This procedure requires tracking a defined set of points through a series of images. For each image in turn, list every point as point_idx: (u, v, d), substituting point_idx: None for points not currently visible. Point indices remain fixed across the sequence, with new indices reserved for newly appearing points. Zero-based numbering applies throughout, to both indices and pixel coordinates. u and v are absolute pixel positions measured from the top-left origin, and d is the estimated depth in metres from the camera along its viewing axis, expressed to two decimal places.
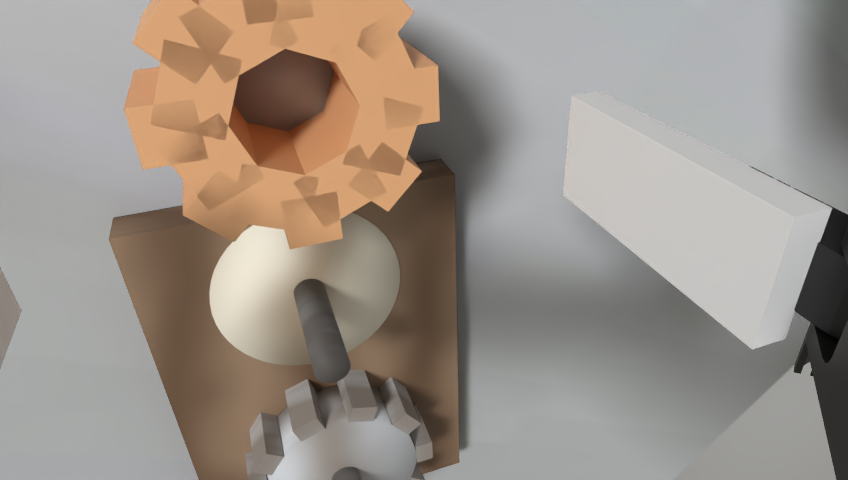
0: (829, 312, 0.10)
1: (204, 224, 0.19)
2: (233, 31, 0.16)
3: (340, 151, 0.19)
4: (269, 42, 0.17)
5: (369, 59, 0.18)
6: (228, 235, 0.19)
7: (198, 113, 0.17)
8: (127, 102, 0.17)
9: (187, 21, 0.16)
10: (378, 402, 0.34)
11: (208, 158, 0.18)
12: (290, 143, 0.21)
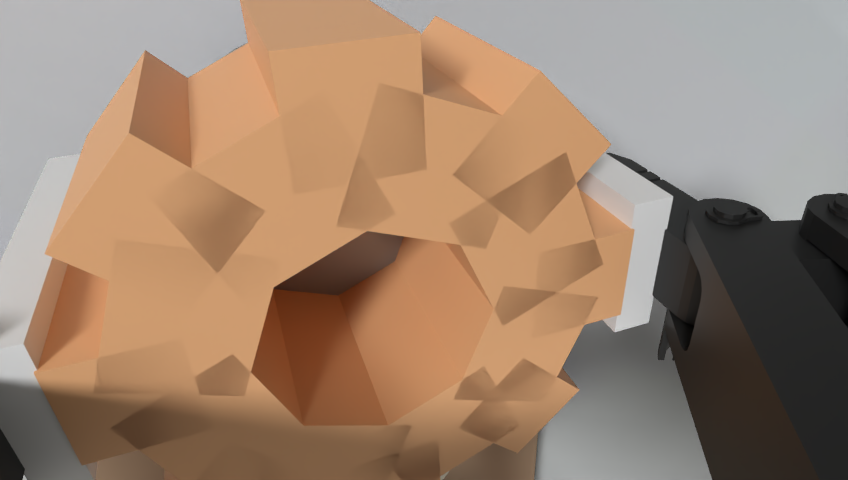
0: (681, 300, 0.10)
1: None
2: (263, 208, 0.08)
3: (449, 377, 0.11)
4: (337, 223, 0.08)
5: (520, 232, 0.09)
6: None
7: (191, 360, 0.08)
8: (44, 346, 0.08)
9: (166, 200, 0.07)
10: None
11: (210, 429, 0.09)
12: (346, 330, 0.12)
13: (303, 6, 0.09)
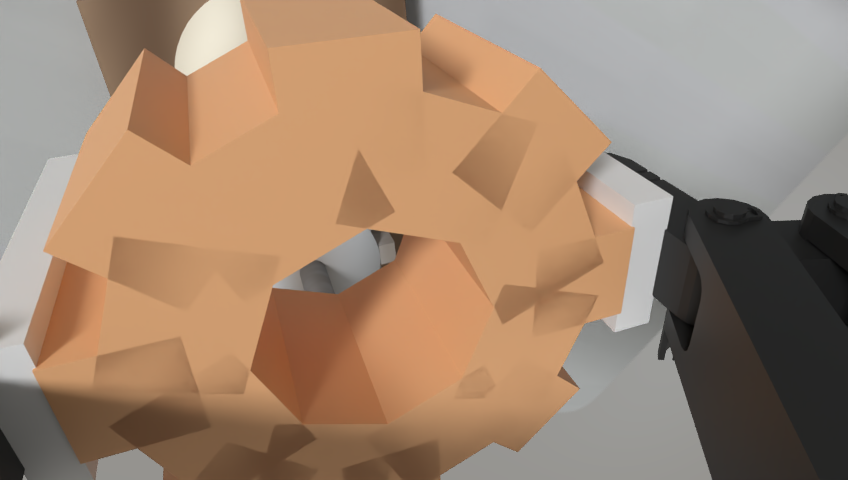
0: (681, 300, 0.10)
1: None
2: (263, 206, 0.08)
3: (449, 376, 0.11)
4: (336, 220, 0.08)
5: (520, 231, 0.09)
6: None
7: (191, 358, 0.08)
8: (43, 345, 0.08)
9: (165, 198, 0.07)
10: None
11: (210, 427, 0.09)
12: (346, 328, 0.12)
13: (303, 3, 0.09)
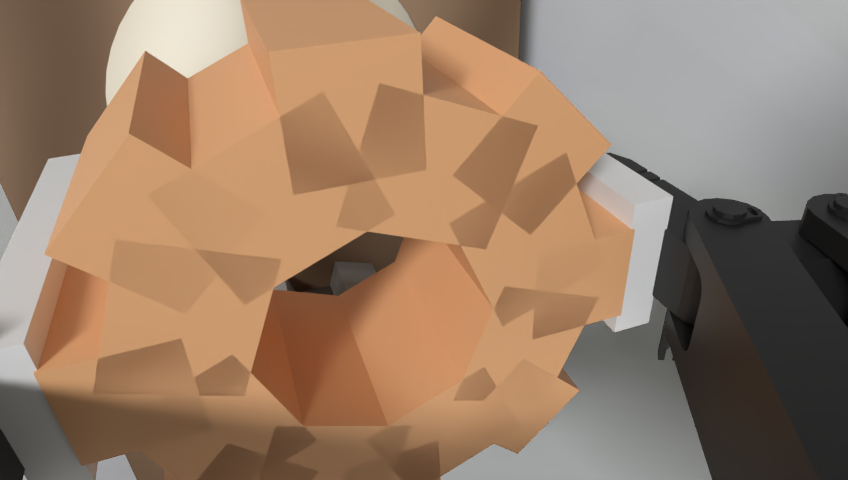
0: (681, 300, 0.10)
1: None
2: (264, 208, 0.08)
3: (449, 377, 0.11)
4: (337, 223, 0.08)
5: (520, 233, 0.09)
6: None
7: (191, 360, 0.08)
8: (45, 347, 0.08)
9: (166, 201, 0.07)
10: None
11: (210, 429, 0.09)
12: (346, 330, 0.12)
13: (303, 6, 0.09)
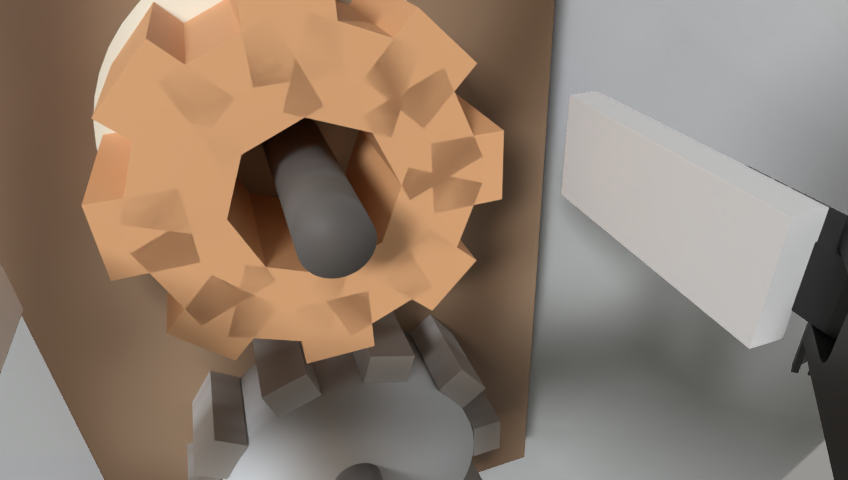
0: (826, 312, 0.10)
1: (195, 342, 0.14)
2: (233, 97, 0.12)
3: None
4: (283, 110, 0.12)
5: (416, 126, 0.13)
6: (227, 353, 0.14)
7: (186, 206, 0.12)
8: (87, 193, 0.12)
9: (169, 86, 0.11)
10: None
11: (200, 262, 0.13)
12: None
13: None
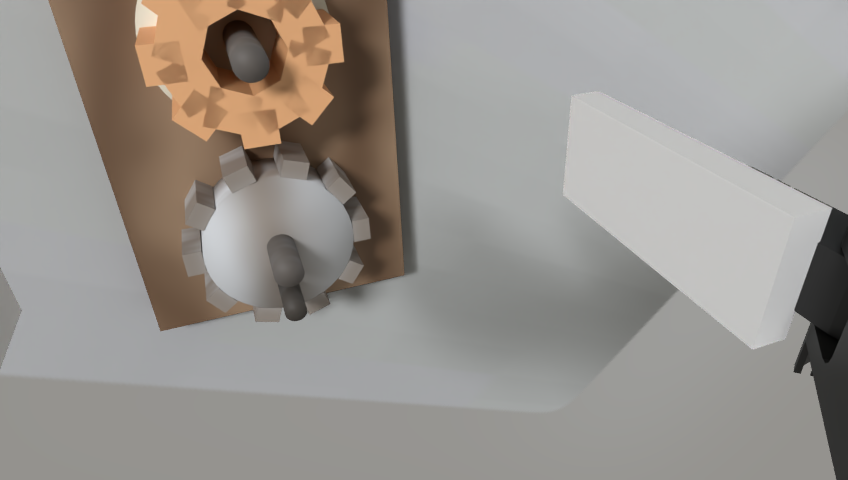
0: (829, 312, 0.10)
1: (186, 127, 0.28)
2: None
3: (277, 80, 0.29)
4: (227, 5, 0.26)
5: (293, 18, 0.27)
6: (202, 136, 0.29)
7: (182, 50, 0.27)
8: (136, 42, 0.26)
9: None
10: (314, 175, 0.34)
11: (188, 81, 0.27)
12: None
13: None
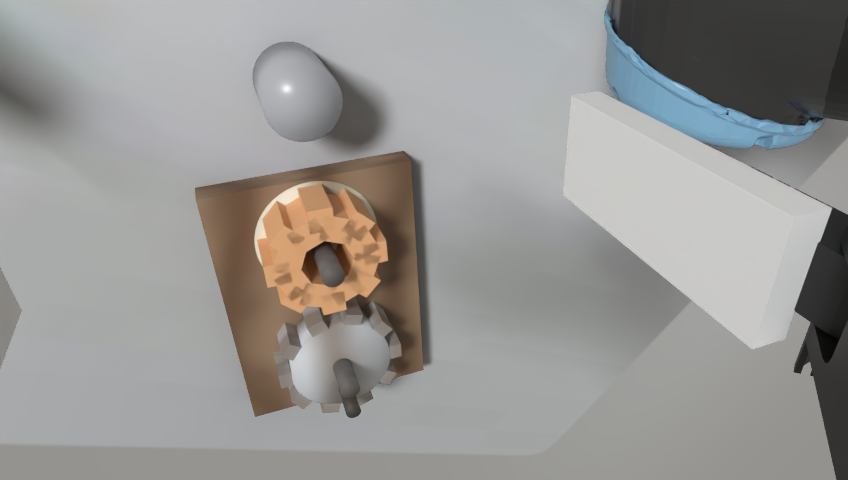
0: (829, 312, 0.10)
1: (289, 307, 0.44)
2: (304, 237, 0.42)
3: (345, 274, 0.45)
4: (318, 239, 0.43)
5: (357, 241, 0.44)
6: (298, 310, 0.45)
7: (290, 266, 0.43)
8: (262, 263, 0.43)
9: (288, 236, 0.42)
10: (364, 316, 0.51)
11: (292, 282, 0.44)
12: None
13: (311, 194, 0.43)
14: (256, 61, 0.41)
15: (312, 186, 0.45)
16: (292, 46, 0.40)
